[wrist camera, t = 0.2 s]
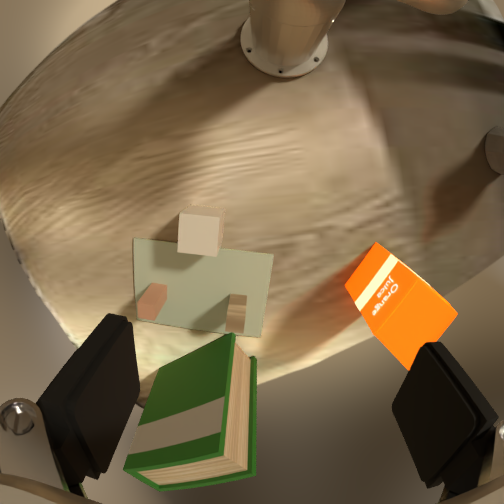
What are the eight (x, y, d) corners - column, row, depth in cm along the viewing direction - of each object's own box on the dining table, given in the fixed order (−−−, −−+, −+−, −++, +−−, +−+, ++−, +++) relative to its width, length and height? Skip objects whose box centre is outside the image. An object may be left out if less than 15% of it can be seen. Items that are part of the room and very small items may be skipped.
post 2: (230, 293, 47) (226, 315, 41) (247, 295, 47) (245, 318, 41) (229, 307, 48) (225, 331, 41) (245, 309, 48) (243, 333, 41)
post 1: (152, 282, 47) (137, 302, 40) (167, 284, 47) (153, 305, 40) (152, 296, 48) (138, 317, 41) (167, 298, 48) (154, 320, 41)
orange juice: (343, 285, 47) (387, 362, 28) (375, 241, 44) (441, 297, 25) (376, 305, 48) (426, 381, 29) (407, 265, 46) (473, 325, 27)
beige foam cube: (190, 204, 43) (179, 213, 37) (225, 208, 43) (220, 217, 37) (188, 238, 45) (177, 252, 39) (222, 242, 45) (216, 256, 39)
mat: (134, 237, 45) (133, 238, 45) (273, 254, 45) (273, 255, 45) (137, 318, 50) (136, 319, 49) (260, 336, 50) (260, 337, 50)
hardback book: (232, 331, 49) (218, 451, 27) (256, 359, 51) (255, 475, 29) (159, 368, 53) (122, 469, 30) (183, 391, 55) (159, 491, 33)
